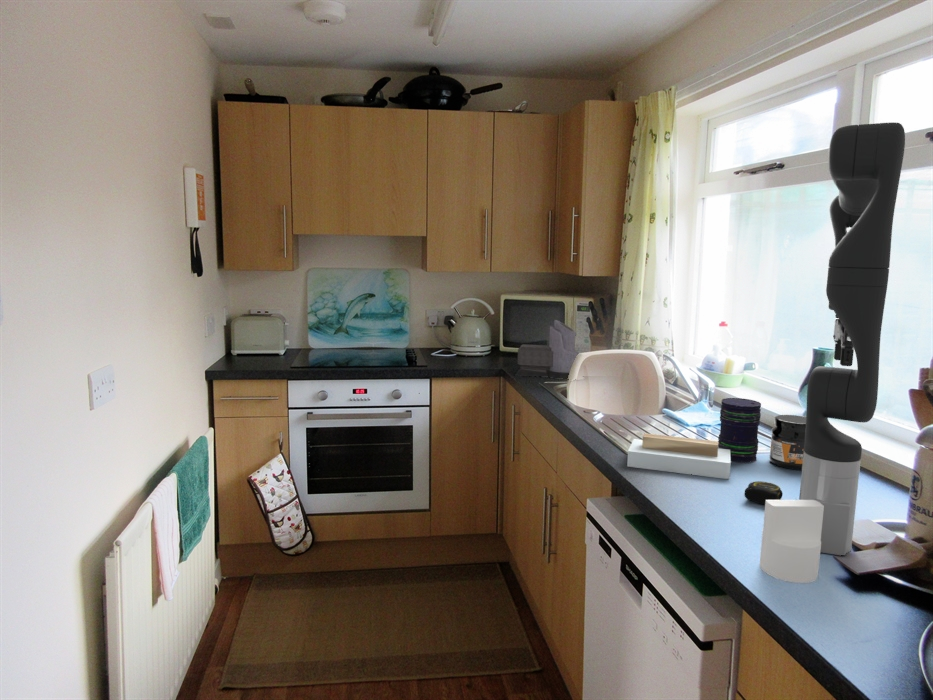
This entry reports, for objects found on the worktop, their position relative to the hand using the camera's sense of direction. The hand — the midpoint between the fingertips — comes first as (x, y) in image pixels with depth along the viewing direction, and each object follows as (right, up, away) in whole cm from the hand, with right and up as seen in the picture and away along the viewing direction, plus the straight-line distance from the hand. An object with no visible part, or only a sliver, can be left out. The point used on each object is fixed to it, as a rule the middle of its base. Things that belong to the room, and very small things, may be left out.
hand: (842, 362), depth 147 cm
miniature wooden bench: (-29, -26, +23) cm, 45 cm away
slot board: (-28, -27, +23) cm, 45 cm away
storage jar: (-10, -26, +31) cm, 42 cm away
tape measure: (-18, -31, -1) cm, 35 cm away
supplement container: (+1, -27, +26) cm, 37 cm away
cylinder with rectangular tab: (-27, -35, -32) cm, 55 cm away
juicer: (-46, -9, +144) cm, 152 cm away
